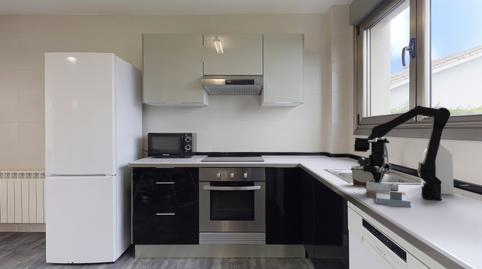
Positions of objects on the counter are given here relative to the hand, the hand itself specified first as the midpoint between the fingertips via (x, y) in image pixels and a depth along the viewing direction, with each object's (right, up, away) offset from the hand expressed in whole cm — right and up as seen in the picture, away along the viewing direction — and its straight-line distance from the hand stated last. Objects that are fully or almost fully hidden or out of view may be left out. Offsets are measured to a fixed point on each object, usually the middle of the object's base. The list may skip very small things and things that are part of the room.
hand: (377, 185), depth 133 cm
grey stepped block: (-1, -4, -16) cm, 16 cm away
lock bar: (-1, -1, -7) cm, 7 cm away
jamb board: (+1, -4, -6) cm, 7 cm away
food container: (+1, -3, +18) cm, 18 cm away
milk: (+32, -4, +6) cm, 33 cm away
